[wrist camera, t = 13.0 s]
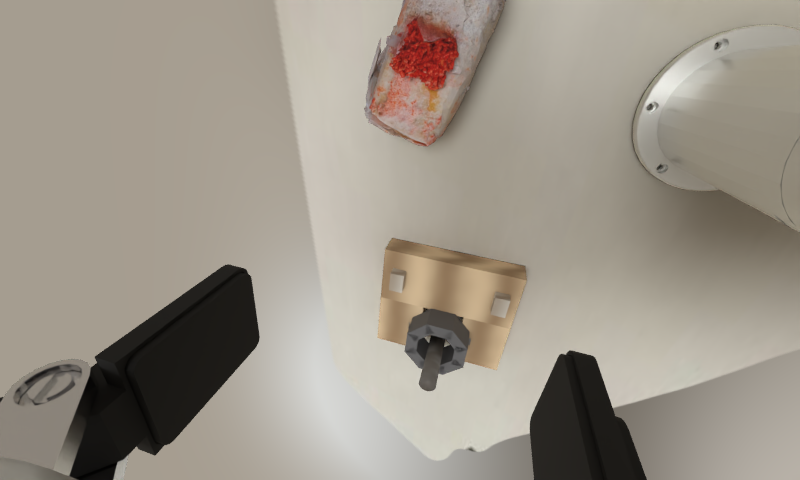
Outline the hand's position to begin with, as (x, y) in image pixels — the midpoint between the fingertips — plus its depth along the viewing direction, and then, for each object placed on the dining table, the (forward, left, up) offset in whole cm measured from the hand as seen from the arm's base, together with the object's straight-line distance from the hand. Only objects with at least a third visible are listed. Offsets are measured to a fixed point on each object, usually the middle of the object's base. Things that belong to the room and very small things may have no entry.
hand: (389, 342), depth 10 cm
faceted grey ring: (-1, +22, -25) cm, 34 cm away
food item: (+4, -8, -29) cm, 30 cm away
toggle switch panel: (-1, +19, -28) cm, 34 cm away
